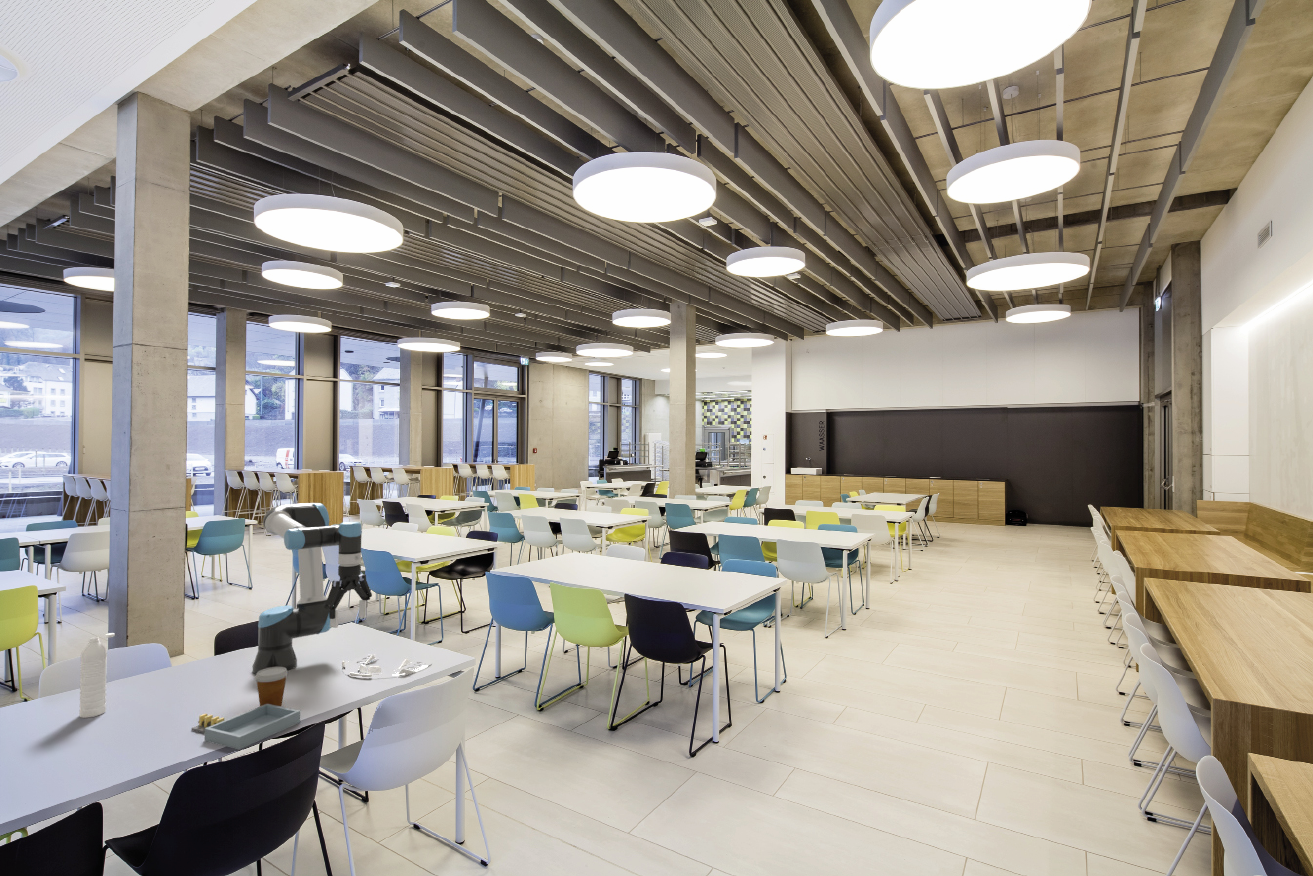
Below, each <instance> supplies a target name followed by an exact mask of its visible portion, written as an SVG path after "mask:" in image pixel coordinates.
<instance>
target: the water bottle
mask: <svg viewBox="0 0 1313 876" xmlns="http://www.w3.org/2000/svg"><path fill="white" fill-rule="evenodd" d="M115 634H116V633H114V632H109V633H106V634H104V639H105V638H106V639H110V638H113V637H116V636H115ZM107 657H108V650H107V647H105V645H103V643H102V642H101V641H100V637H99V636H93V637H90V638H89V640H88V644H86V646H85V647H84V648H83V650H82V651H81V653H80V675H79V676H80V679H79V680H80V681H79V683H80V685H79V690H80V691H79V718H82V719H83V718H84V719H85V718H94V717H97V716H101V715H103V714H104V713H106V711H107V704H106V703H107V670H108V669H107V667H108V666H107V664H108V662H107V661H108V658H107Z"/></svg>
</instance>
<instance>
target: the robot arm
mask: <svg viewBox="0 0 1313 876" xmlns="http://www.w3.org/2000/svg"><path fill="white" fill-rule="evenodd" d="M327 509H328V508H327V507H326V506H325V505H324V504H323V503H321V502H310V503H309V502H306V503H294V504H293V503H291V504H280V505H277V506H275V507H272V508H271V509H269V510H268V511H267V512H266V513H265V515H264V516H263V519H262V526H263V528H264V529H265V530H266V532H268V533H270V534H272V535H277V536H279V537H281V538H282V539H283V543H284V546H285V548H286V549H287V550H289V551H292V550H294V551H297V553H298V554H297V555H298V570H299V571H298V572H299V574H298V575H299V578H298V579H299V596H300V597H299V600H298V601H297V602H296V607H295V608H294V607H293V606H292V605H288V604H287V605H281V606H274V607H272V608H267V609H266V610H264V611H263V612H262V613H260V614H259V617H258V624H257V627H258V635H257V636H258V638H257V639H258V640H257V641H258V642H257V643H258V644H257V653H256V656H255V660H254V661H253V663H252V673H254V674H256V675H257V672H259V671H260V670H263V669H266V668H271V667H284V668H286V670H287V672H288V671H291V670H292V669H295V668H296V667H297V666H298V659H297V658H298V657H297V656H296V652H295V651H294V647H293V639H297V638H302V637H303V638H304V637H308V636H313V635H320V634H322V633H326V632H328V631H330V630H331V629H332V628H335V629H336V628H338V627H339V608H338V606H339V605H340V603H341V601H342V600H343V597H344V596H345V594H346V593H347V592H349V591H351V590H354V591H355V592H356V594H357V595H358V597H359V602H358V603H359V604H358V605H359V606H358V607H359V610H358V618H359V619H360V618H361V619H366V618H367V608H368V601H370V600H371V597H373V593H372V591H371V589H370V586H369V583H368V581H367V574H363V573H362V565H361V563H362V534H363V530H362V523H361V522H358V521H343V522H340V523H335V524H331V525H330V517H329V516H330V515H329V512H328V510H327ZM335 546H337V547H338V557H337V558H338V560H337V561H338V565H339V566H338V567H337V568H338V569H337V571H338V572H337V574H338V577H339V580H333V581H332V582H331V588H330V590H329V593H328V596H326V595H325V592H324V573H323V572H324V571H323V558H322V556H323V555H322V552H323V551H322V548H326V547H335Z"/></svg>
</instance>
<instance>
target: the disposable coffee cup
mask: <svg viewBox="0 0 1313 876" xmlns="http://www.w3.org/2000/svg"><path fill="white" fill-rule="evenodd" d="M288 673H289V672H288V671H287V670H286V668H284V667H271V668H266V669H263V670H260V671H259V672H257V674H256V675H255V677H254V679H255V681H256V685H257V692H258V693H257V695H258V700H259V702H258V703H259V707H260V706H262V705H265V704H271V705H276V706H280V707H283V698H284V693H285V688H286V680H287V676H288Z"/></svg>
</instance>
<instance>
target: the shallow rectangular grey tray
mask: <svg viewBox="0 0 1313 876" xmlns="http://www.w3.org/2000/svg"><path fill="white" fill-rule="evenodd" d="M299 723H301V710H297V709H293V708H290V707H289V708H288V707H284V706H281V707H280V706H276V705H271V704H265V705H262V706H260V705H259V706H258V707H255V708H253V709H250V710H248V711H245V712H243V713H240V714H238V715H235V716H232V717H230V718H227V719H225V721H222V722H220V723H217V724H215V725H212V726H210V727H207V728H205V734H204V741H205V742H209V743H212V744H216V745H219V746H223V747H227V748H231V749H234V750H235V749H236V750H241V749H243V748H244V749H245V748H246V747H248V746H251V745H254V744H255V743H257V742H259V741H262V740H263V739H264V740H265V739H266V738H268V737H271V736H273V735H275V734H278V733H279V732H282V731H284V730H286V729H288V728H291V727H293V726H295V725H297V724H299Z"/></svg>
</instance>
